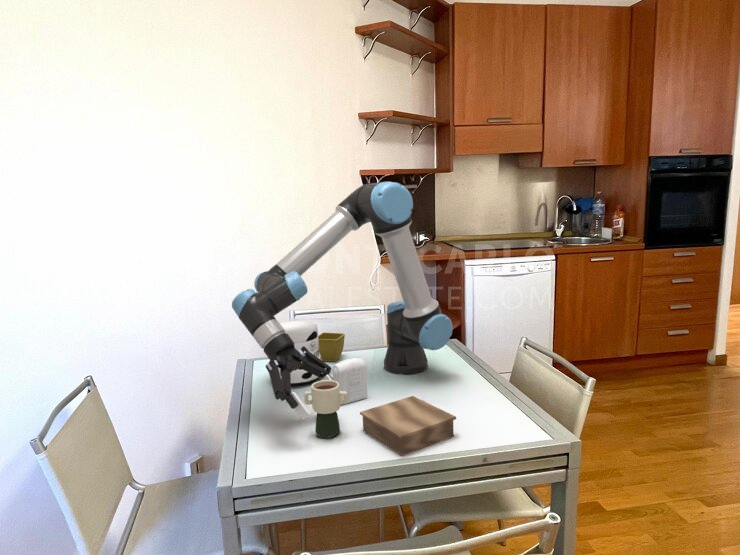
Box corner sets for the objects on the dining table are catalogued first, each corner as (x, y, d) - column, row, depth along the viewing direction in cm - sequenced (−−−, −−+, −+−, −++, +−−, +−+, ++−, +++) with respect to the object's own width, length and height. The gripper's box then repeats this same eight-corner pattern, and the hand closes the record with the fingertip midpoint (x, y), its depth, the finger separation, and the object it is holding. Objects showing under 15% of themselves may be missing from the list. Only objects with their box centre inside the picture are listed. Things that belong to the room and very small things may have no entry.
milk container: (334, 377, 171) (331, 324, 168) (292, 393, 159) (288, 336, 156) (300, 367, 183) (297, 317, 180) (259, 381, 170) (255, 327, 168)
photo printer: (361, 393, 156) (360, 354, 154) (369, 398, 153) (368, 357, 151) (332, 402, 151) (330, 361, 149) (339, 406, 147) (337, 365, 145)
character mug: (351, 427, 134) (349, 379, 132) (347, 440, 127) (345, 390, 125) (309, 427, 135) (306, 379, 133) (303, 440, 128) (300, 390, 126)
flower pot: (346, 356, 193) (345, 333, 191) (338, 364, 185) (337, 339, 183) (324, 355, 195) (323, 332, 194) (315, 362, 187) (313, 338, 186)
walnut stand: (413, 413, 141) (412, 395, 140) (456, 436, 127) (456, 416, 126) (360, 430, 132) (359, 412, 131) (400, 457, 118) (400, 436, 117)
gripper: (298, 337, 147) (343, 397, 142) (232, 363, 126) (282, 434, 121) (311, 321, 144) (359, 382, 138) (246, 345, 123) (299, 417, 117)
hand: (323, 406), depth 129 cm, fingers open, 13 cm apart
